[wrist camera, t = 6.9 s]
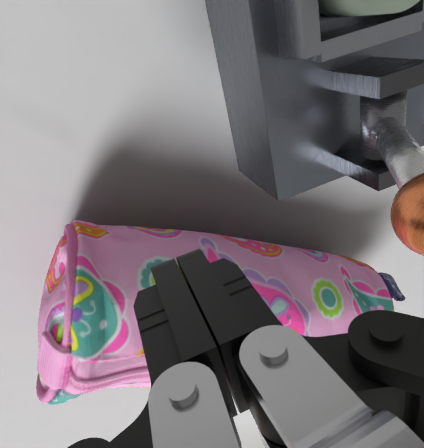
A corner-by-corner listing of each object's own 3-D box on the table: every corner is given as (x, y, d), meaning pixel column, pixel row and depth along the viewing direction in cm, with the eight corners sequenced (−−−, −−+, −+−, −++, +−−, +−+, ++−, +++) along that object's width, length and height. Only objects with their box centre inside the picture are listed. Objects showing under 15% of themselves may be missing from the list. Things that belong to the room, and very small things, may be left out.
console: (189, -78, 16) (276, -162, 10) (487, -144, 19) (716, -244, 13) (239, 171, 23) (314, 229, 16) (459, 91, 26) (602, 111, 19)
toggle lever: (350, 93, 16) (404, 198, 9) (408, 83, 16) (526, 186, 8) (351, 148, 18) (399, 282, 10) (405, 140, 17) (504, 277, 9)
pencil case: (350, 242, 29) (451, 315, 21) (303, 333, 32) (376, 426, 24) (62, 180, 20) (58, 271, 12) (32, 318, 23) (14, 460, 15)
